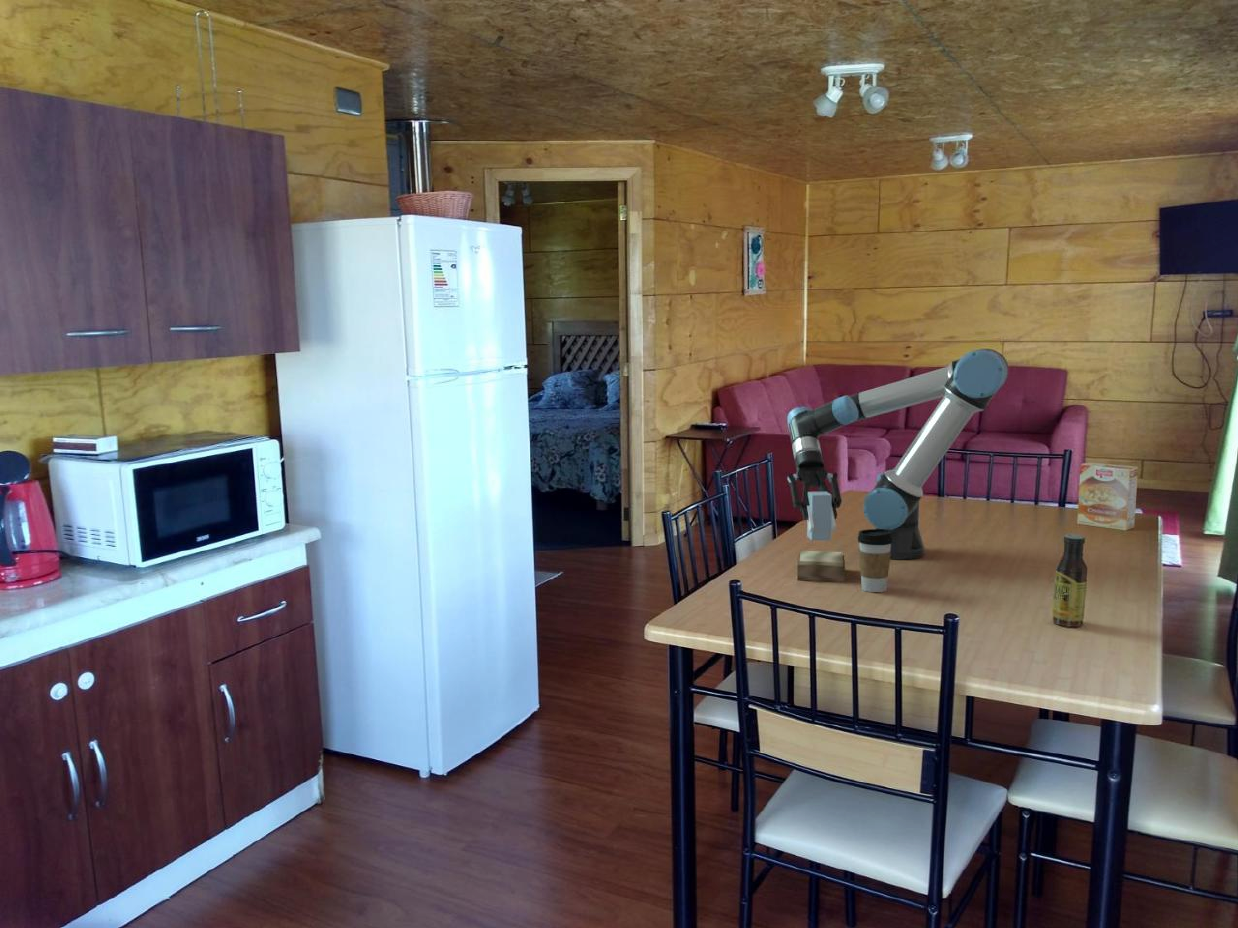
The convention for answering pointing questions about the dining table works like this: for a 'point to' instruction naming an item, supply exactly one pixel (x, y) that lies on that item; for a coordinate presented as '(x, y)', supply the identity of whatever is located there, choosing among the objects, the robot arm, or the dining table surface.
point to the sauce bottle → (1070, 584)
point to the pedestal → (821, 566)
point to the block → (820, 515)
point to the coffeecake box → (1107, 495)
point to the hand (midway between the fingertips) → (822, 529)
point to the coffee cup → (874, 558)
